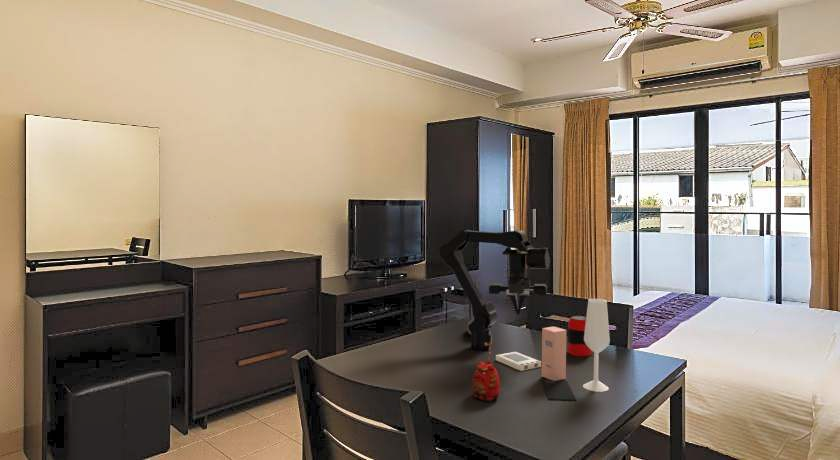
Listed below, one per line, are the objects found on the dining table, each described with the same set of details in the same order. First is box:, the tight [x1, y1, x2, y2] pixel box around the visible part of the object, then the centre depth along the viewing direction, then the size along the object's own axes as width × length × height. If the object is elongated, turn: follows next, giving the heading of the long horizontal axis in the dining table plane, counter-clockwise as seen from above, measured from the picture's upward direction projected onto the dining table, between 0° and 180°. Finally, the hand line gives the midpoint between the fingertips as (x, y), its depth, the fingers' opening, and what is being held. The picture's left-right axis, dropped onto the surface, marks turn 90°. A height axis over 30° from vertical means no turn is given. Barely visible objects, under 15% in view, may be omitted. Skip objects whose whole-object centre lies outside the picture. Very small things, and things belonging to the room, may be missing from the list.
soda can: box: [567, 315, 592, 358], centre depth 172 cm, size 8×8×12 cm
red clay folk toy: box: [471, 338, 501, 402], centre depth 133 cm, size 8×7×15 cm
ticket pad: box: [495, 351, 542, 372], centre depth 162 cm, size 12×8×2 cm, turn 29°
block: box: [541, 326, 568, 381], centre depth 147 cm, size 5×5×14 cm
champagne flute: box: [582, 298, 611, 393], centre depth 140 cm, size 7×7×24 cm
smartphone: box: [541, 378, 577, 402], centre depth 139 cm, size 7×1×15 cm
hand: (518, 314), depth 172 cm, fingers closed
